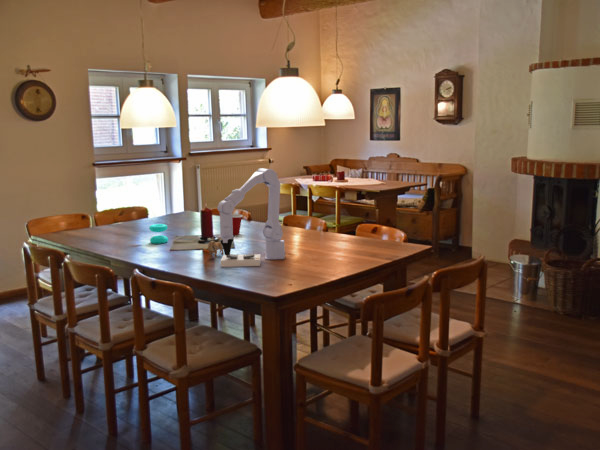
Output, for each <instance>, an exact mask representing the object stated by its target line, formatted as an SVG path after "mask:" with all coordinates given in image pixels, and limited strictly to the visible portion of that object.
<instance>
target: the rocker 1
mask: <svg viewBox="0 0 600 450" xmlns="http://www.w3.org/2000/svg"><path fill="white" fill-rule="evenodd" d="M238 255H239V254H231V253H230V255H227V256H226V258H231V259H233V258H234V259H237V258H238Z"/></svg>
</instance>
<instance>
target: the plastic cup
mask: <svg viewBox="0 0 600 450" xmlns="http://www.w3.org/2000/svg"><path fill="white" fill-rule="evenodd" d="M243 217H244V215H243V214H240V213H239V214H238V213H232V225H233V236H238V235H240V230H241V225H242V223H241V222H242V220H243Z"/></svg>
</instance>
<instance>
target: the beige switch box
mask: <svg viewBox="0 0 600 450" xmlns="http://www.w3.org/2000/svg"><path fill="white" fill-rule="evenodd" d="M254 254H255V253H254ZM237 255H238V258H237V259H234V258H233V259H231V258H226V256H227V255H225V254H222V257H221V259H220V267H222V268H223V267H226V268H227V267H229V268H230V267H260V266H261V261H262V257H261V253H259V254H258V253H257V254H255V256H254V257H251V258H250V259H248V258H245V259H244V258H243V256H244V255H245V254H237Z"/></svg>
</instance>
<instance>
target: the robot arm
mask: <svg viewBox="0 0 600 450" xmlns="http://www.w3.org/2000/svg"><path fill="white" fill-rule="evenodd" d="M257 184H264V185H265V186H266V187H268V202H267V220H266V221H265V223H264V227H263V230H262V233H263V236H264V237H265V257H264V259H265V261H266V260H285V256H286V250H285V248H286V247H285V239H282V238H283V235H284V234H283V230H282V224H281V222H280V204H281V203H280V200H281V182H280V180H279V178H278V173H277V172H276V171H275V170H274V169H272V168H263V167H259V168H257V170H256V171H254V172H253V174H252V175H251V176H250V177H249V178H248V180H246V181H245V183H244V184H243V185H242V186H241V187H240V188H235V189H233V190H231V193H230V194H229V195H227V197H225V198H224V199H223V200H221V201H220V202H219V203H218V205H217V207H216V208H217V211H218V212H219V225H220V226H219V227H220V228H219V229H220V230H219V231H220V233H219V235H217V238H219V239H221V240H220V243H221V245H222V249H223V254H224V255H230V254H231V249H232V244H233V243H234V242H233V241H234V239H233V238H234V235H233V225H232V214H233V212H234V211H235V207H236V206H237V205H238V204H239V203H241V202H242V201H243V200H244V199H245V194H246V193H247V192H249V191H251V189H253V188H254V187H255V186H256V185H257Z"/></svg>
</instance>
